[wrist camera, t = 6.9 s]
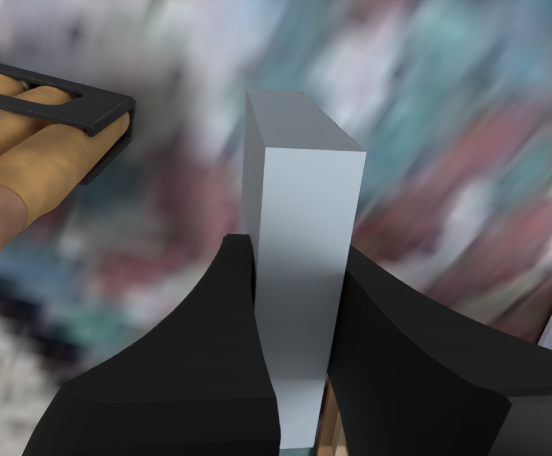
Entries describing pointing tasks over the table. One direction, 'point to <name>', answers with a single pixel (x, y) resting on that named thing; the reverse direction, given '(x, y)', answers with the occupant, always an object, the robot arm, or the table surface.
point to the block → (297, 243)
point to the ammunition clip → (53, 142)
